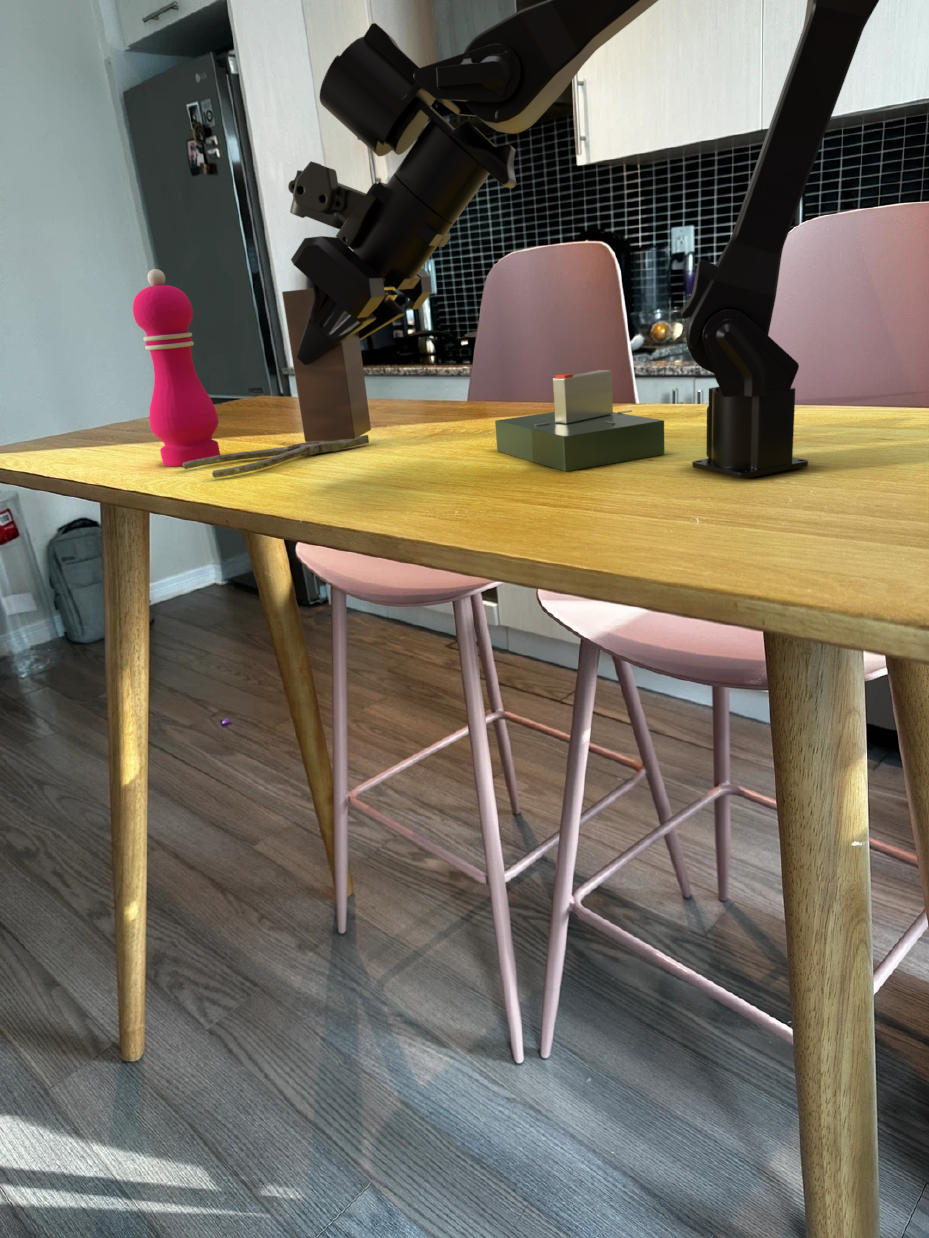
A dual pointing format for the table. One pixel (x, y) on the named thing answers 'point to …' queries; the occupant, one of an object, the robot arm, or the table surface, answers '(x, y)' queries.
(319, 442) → the forked twig
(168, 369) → the pepper mill
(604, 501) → the table surface
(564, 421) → the grey slab
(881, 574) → the table surface
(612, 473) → the table surface
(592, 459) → the dark green flat block
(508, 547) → the table surface
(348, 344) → the walnut block
